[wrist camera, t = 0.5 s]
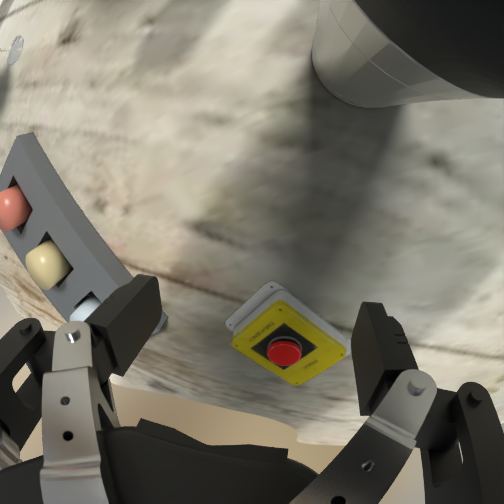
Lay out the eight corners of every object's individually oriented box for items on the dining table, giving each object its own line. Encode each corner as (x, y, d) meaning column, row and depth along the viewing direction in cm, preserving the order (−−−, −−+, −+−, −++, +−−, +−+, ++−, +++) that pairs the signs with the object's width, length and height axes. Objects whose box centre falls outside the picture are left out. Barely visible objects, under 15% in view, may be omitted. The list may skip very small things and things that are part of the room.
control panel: (1, 201, 33) (-11, 207, 30) (33, 132, 27) (17, 135, 24) (110, 347, 41) (101, 359, 39) (167, 316, 35) (158, 331, 33)
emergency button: (267, 298, 27) (363, 369, 29) (271, 275, 31) (358, 343, 33) (213, 344, 31) (306, 401, 33) (222, 321, 35) (307, 377, 37)
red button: (8, 200, 30) (-11, 209, 26) (18, 176, 28) (-3, 184, 24) (24, 228, 31) (6, 239, 28) (35, 206, 29) (15, 217, 26)
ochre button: (39, 251, 32) (21, 264, 29) (52, 231, 30) (32, 244, 27) (61, 281, 34) (44, 296, 30) (75, 264, 32) (57, 279, 28)
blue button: (80, 304, 35) (64, 320, 32) (96, 290, 33) (79, 307, 30) (105, 332, 37) (91, 350, 33) (123, 321, 35) (109, 340, 31)
